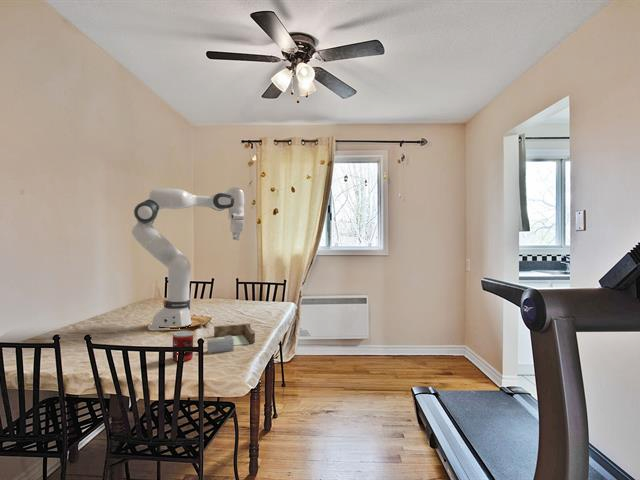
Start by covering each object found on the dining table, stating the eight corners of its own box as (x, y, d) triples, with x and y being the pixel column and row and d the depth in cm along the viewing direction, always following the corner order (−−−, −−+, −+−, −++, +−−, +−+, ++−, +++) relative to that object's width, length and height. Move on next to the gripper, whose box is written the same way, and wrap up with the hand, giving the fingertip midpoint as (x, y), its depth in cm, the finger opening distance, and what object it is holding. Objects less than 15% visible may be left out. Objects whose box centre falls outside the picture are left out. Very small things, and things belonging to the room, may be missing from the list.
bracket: (208, 353, 159) (208, 342, 158) (206, 348, 165) (206, 337, 165) (233, 350, 163) (233, 339, 163) (230, 345, 169) (231, 335, 169)
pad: (221, 346, 168) (221, 346, 168) (217, 338, 180) (217, 337, 180) (249, 343, 173) (249, 343, 173) (243, 335, 186) (243, 335, 186)
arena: (218, 347, 167) (219, 336, 167) (214, 336, 183) (214, 326, 183) (257, 343, 174) (257, 333, 174) (249, 332, 190) (249, 323, 190)
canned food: (175, 355, 155) (176, 330, 154) (194, 355, 155) (195, 330, 155) (169, 362, 147) (170, 335, 147) (190, 362, 148) (190, 335, 147)
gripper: (227, 216, 219) (227, 239, 219) (233, 215, 200) (233, 240, 200) (238, 216, 221) (238, 239, 222) (245, 216, 202) (244, 240, 203)
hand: (235, 240), depth 211 cm, fingers open, 8 cm apart
